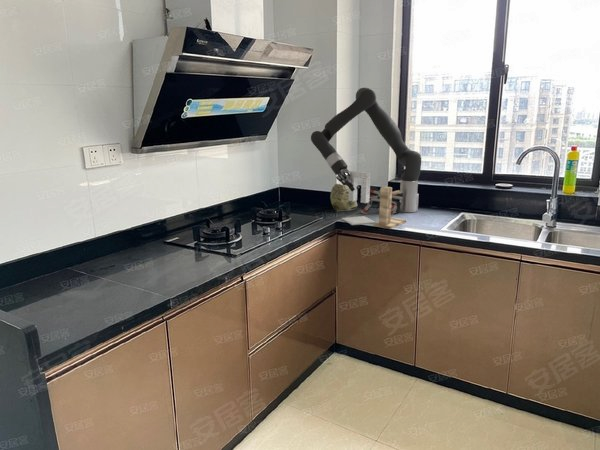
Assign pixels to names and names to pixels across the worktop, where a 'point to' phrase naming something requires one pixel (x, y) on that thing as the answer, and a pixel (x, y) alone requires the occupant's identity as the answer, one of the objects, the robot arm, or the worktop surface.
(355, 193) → the link
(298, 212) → the worktop surface
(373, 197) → the toy blaster
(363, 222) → the mat
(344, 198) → the fossil
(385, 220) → the stand
